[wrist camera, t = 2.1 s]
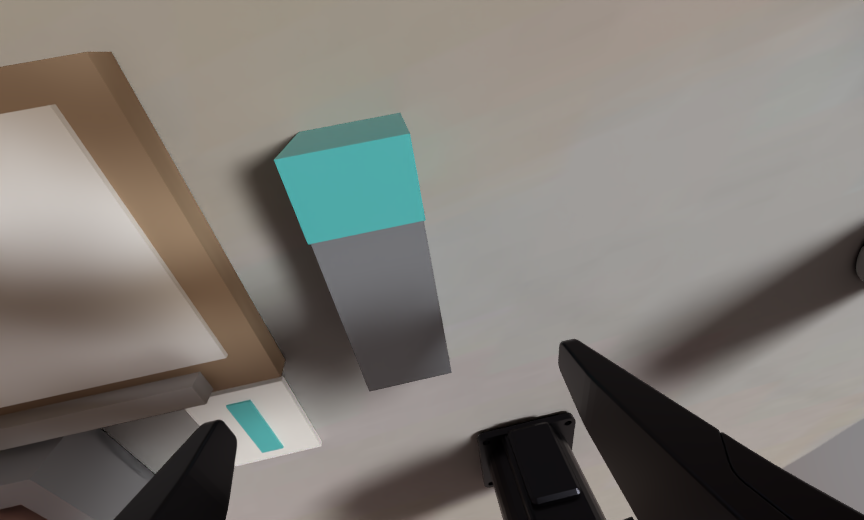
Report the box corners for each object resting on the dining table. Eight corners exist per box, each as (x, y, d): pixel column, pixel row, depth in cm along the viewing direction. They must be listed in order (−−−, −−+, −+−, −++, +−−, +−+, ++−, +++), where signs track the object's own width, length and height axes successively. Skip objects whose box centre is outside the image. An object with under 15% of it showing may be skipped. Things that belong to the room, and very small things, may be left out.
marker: (441, 332, 17) (455, 389, 14) (373, 347, 17) (374, 408, 14) (399, 112, 12) (410, 133, 9) (298, 132, 12) (273, 159, 9)
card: (321, 441, 20) (320, 447, 20) (237, 461, 20) (235, 468, 20) (282, 376, 17) (281, 382, 17) (182, 398, 17) (178, 405, 17)
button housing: (174, 491, 21) (147, 552, 18) (38, 523, 20) (-9, 590, 18) (82, 413, 16) (29, 479, 14) (-92, 452, 16) (-179, 527, 14)
